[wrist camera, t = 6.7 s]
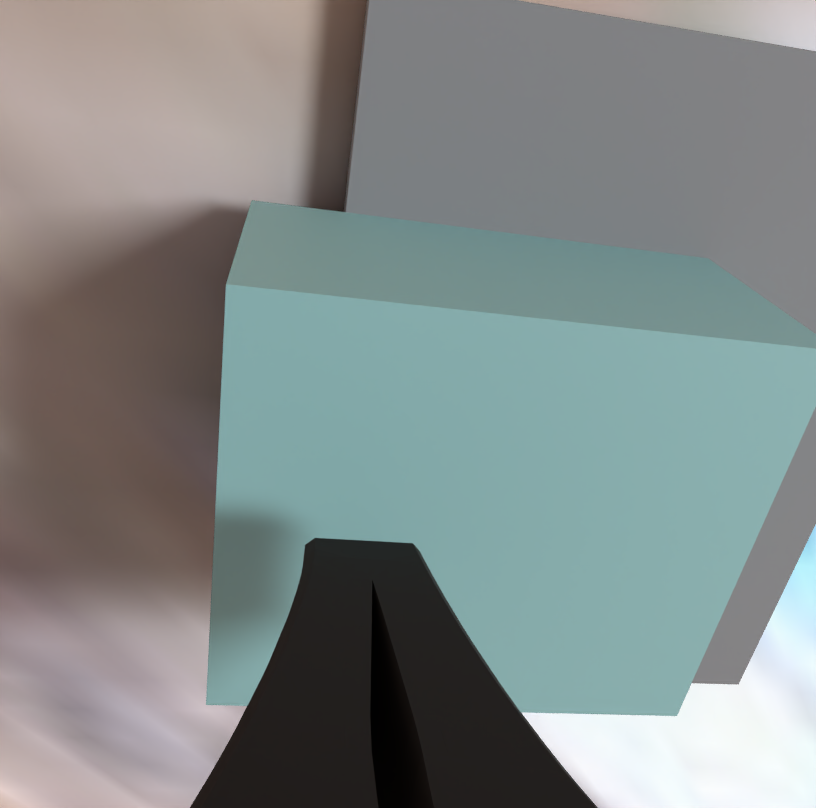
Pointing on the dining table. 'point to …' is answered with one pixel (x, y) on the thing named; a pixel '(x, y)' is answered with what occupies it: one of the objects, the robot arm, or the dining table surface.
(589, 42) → the slate grey mat
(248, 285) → the teal block
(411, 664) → the robot arm
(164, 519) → the dining table surface
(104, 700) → the dining table surface
